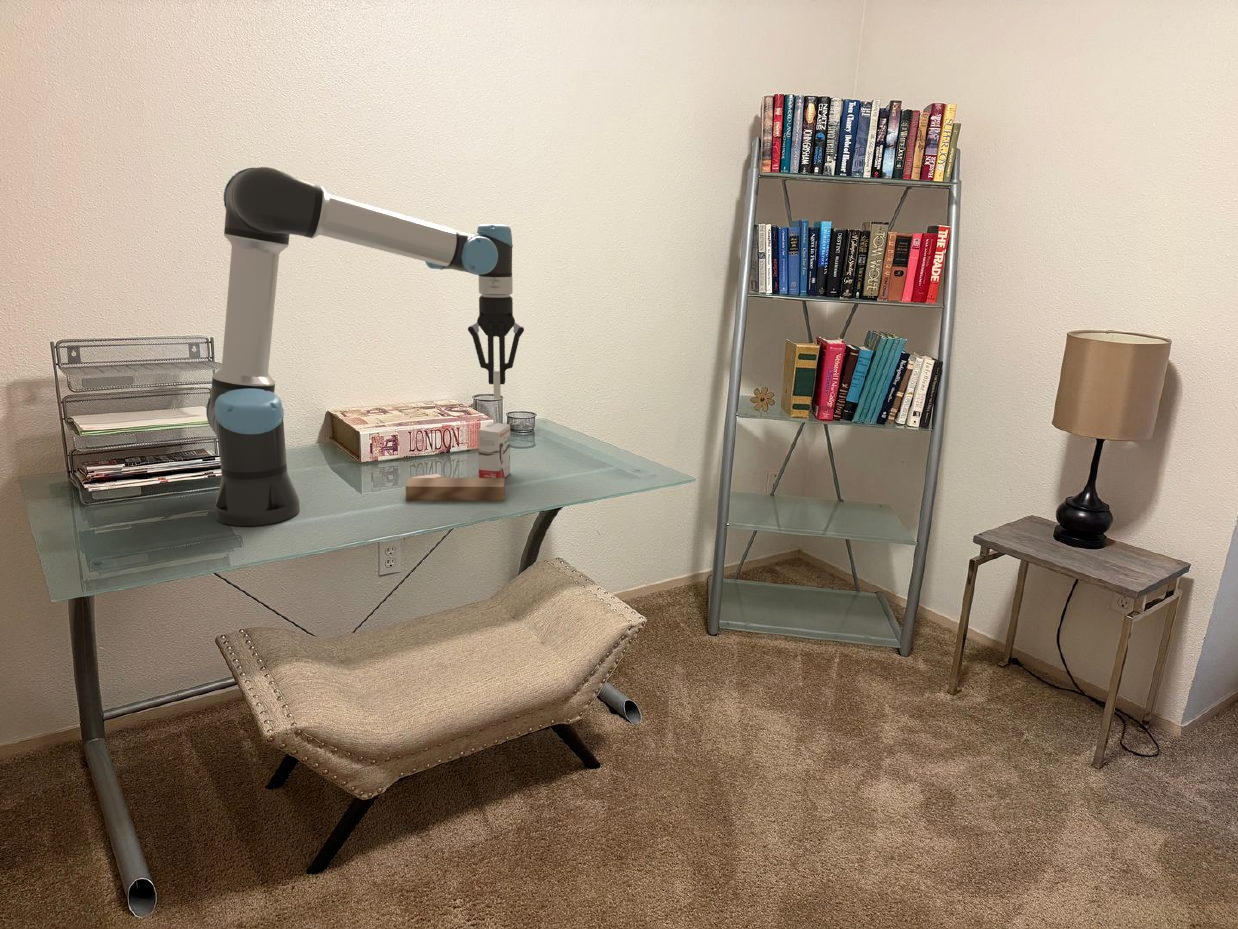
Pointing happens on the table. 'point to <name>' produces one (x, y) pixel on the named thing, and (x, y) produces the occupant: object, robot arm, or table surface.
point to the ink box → (494, 450)
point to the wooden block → (455, 489)
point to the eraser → (429, 476)
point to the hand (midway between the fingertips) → (497, 397)
